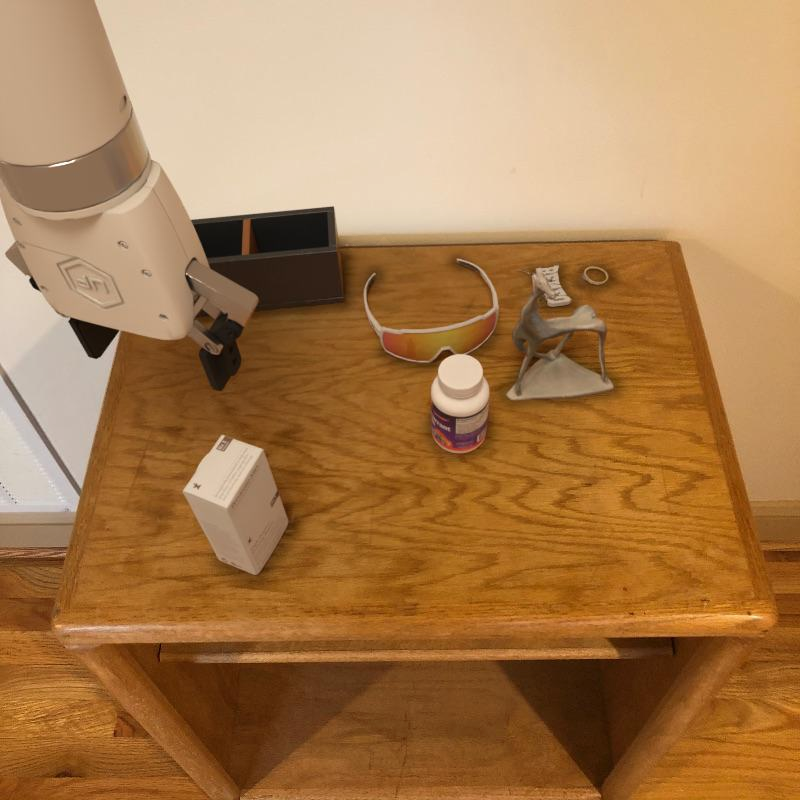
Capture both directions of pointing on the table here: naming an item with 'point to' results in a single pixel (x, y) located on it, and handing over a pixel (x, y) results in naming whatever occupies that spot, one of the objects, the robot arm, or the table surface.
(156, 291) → the robot arm
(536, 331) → the figurine
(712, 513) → the table surface
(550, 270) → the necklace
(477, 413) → the pill bottle
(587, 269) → the ring
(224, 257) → the caddy
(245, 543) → the cosmetic box
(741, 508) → the table surface
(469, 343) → the sunglasses
